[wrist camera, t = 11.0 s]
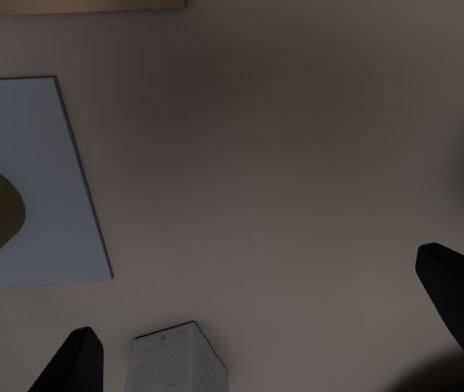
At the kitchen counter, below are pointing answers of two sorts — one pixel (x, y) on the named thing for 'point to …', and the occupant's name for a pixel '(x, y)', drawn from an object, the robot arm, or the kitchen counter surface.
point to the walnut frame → (83, 6)
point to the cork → (10, 211)
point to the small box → (175, 363)
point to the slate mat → (46, 190)
